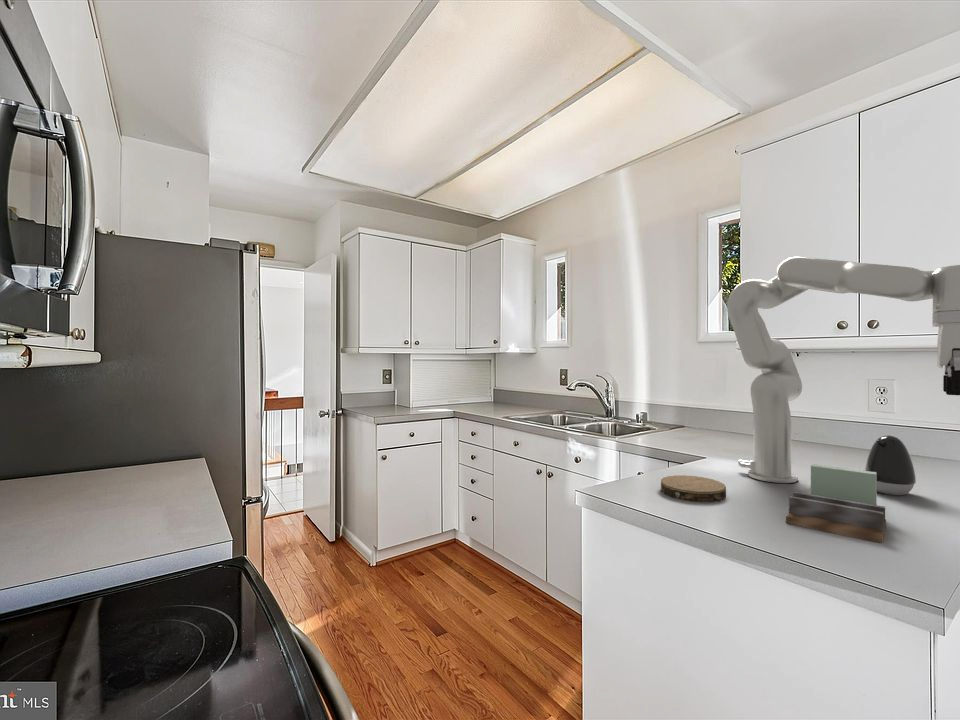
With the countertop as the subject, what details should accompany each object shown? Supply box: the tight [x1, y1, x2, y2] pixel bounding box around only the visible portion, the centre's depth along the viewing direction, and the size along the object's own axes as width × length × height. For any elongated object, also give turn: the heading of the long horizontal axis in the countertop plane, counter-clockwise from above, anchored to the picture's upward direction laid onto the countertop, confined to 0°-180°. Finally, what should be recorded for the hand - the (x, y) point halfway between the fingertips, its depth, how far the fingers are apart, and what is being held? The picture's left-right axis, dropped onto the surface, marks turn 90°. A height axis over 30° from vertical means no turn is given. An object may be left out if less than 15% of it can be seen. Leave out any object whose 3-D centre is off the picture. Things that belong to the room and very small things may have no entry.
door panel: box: [810, 463, 878, 505], centre depth 108 cm, size 12×2×10 cm, turn 46°
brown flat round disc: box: [660, 474, 727, 503], centre depth 124 cm, size 16×16×3 cm
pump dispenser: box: [864, 435, 917, 496], centre depth 122 cm, size 10×10×15 cm
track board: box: [785, 491, 887, 544], centre depth 100 cm, size 16×12×5 cm
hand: (954, 393), depth 106 cm, fingers open, 9 cm apart
